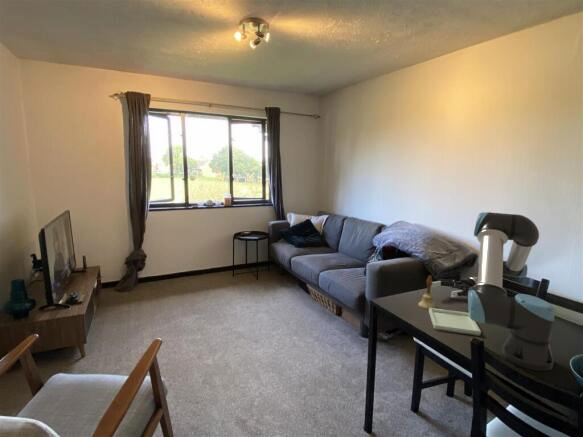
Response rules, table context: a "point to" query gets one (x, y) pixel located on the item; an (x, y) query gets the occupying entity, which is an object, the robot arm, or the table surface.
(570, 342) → the table surface
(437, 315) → the tray
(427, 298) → the hand bell
